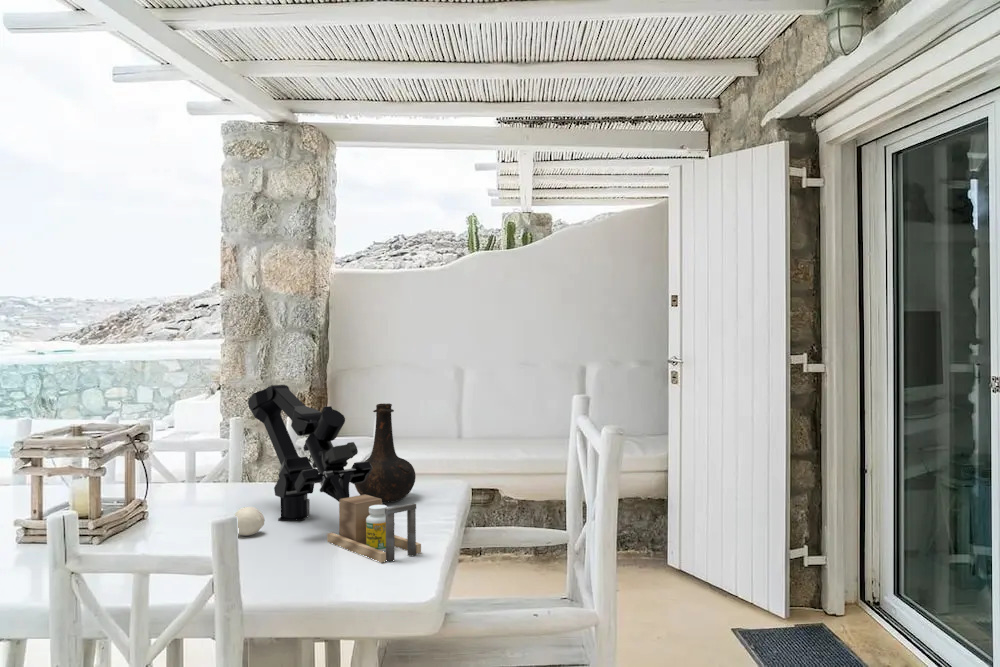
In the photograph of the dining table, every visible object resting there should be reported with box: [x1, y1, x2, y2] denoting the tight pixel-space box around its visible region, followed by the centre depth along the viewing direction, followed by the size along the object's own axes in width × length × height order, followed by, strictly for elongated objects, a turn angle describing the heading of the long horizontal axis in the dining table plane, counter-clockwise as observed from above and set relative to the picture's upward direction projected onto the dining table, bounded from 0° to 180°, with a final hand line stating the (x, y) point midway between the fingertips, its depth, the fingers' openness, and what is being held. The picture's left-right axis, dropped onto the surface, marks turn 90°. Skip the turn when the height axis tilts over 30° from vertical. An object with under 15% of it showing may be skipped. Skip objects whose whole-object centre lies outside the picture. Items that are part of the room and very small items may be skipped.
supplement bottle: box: [366, 504, 388, 552], centre depth 162 cm, size 5×5×10 cm
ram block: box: [338, 494, 383, 545], centre depth 167 cm, size 7×7×10 cm
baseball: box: [234, 506, 266, 537], centre depth 175 cm, size 7×7×7 cm
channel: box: [326, 503, 422, 563], centre depth 163 cm, size 23×10×11 cm, turn 43°
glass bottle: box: [354, 403, 416, 504], centre depth 211 cm, size 18×18×28 cm
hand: (347, 505), depth 171 cm, fingers closed
